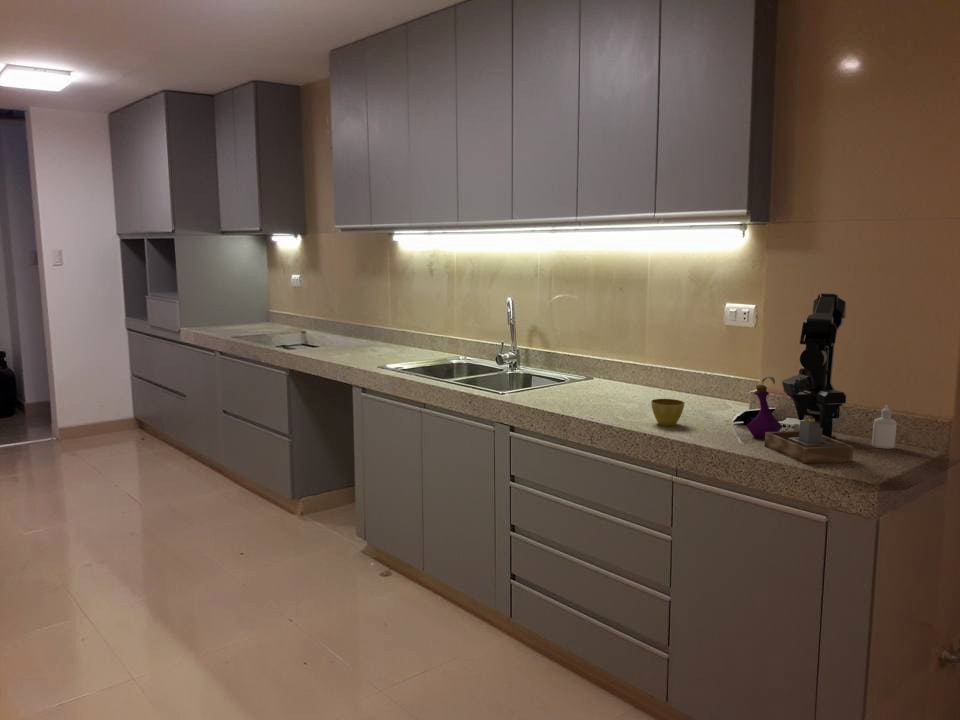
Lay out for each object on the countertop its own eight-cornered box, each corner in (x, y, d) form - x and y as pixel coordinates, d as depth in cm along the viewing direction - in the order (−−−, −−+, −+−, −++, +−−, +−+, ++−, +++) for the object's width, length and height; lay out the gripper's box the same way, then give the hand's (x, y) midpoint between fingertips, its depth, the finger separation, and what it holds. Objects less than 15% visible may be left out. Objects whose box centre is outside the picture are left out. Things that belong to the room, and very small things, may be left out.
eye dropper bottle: (891, 450, 213) (895, 407, 211) (869, 446, 216) (873, 404, 215) (896, 447, 216) (900, 405, 214) (874, 444, 220) (878, 402, 218)
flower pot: (660, 428, 235) (661, 405, 234) (644, 421, 245) (645, 399, 244) (689, 427, 238) (690, 404, 237) (673, 420, 247) (674, 398, 246)
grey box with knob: (797, 450, 208) (800, 417, 207) (811, 449, 209) (813, 416, 208) (807, 453, 205) (809, 420, 203) (820, 453, 205) (823, 420, 204)
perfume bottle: (745, 436, 226) (749, 376, 224) (757, 432, 231) (761, 373, 229) (770, 441, 221) (774, 379, 218) (781, 437, 226) (786, 376, 224)
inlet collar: (787, 448, 210) (787, 437, 209) (813, 447, 212) (814, 436, 211) (805, 456, 202) (806, 445, 202) (832, 455, 204) (833, 443, 203)
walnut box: (764, 446, 215) (765, 432, 215) (809, 444, 218) (810, 430, 218) (804, 463, 198) (805, 448, 197) (852, 461, 201) (853, 446, 200)
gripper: (768, 361, 211) (764, 417, 213) (810, 371, 193) (805, 433, 195) (804, 360, 213) (800, 416, 215) (849, 371, 195) (844, 431, 197)
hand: (811, 423), depth 206 cm, fingers open, 9 cm apart
